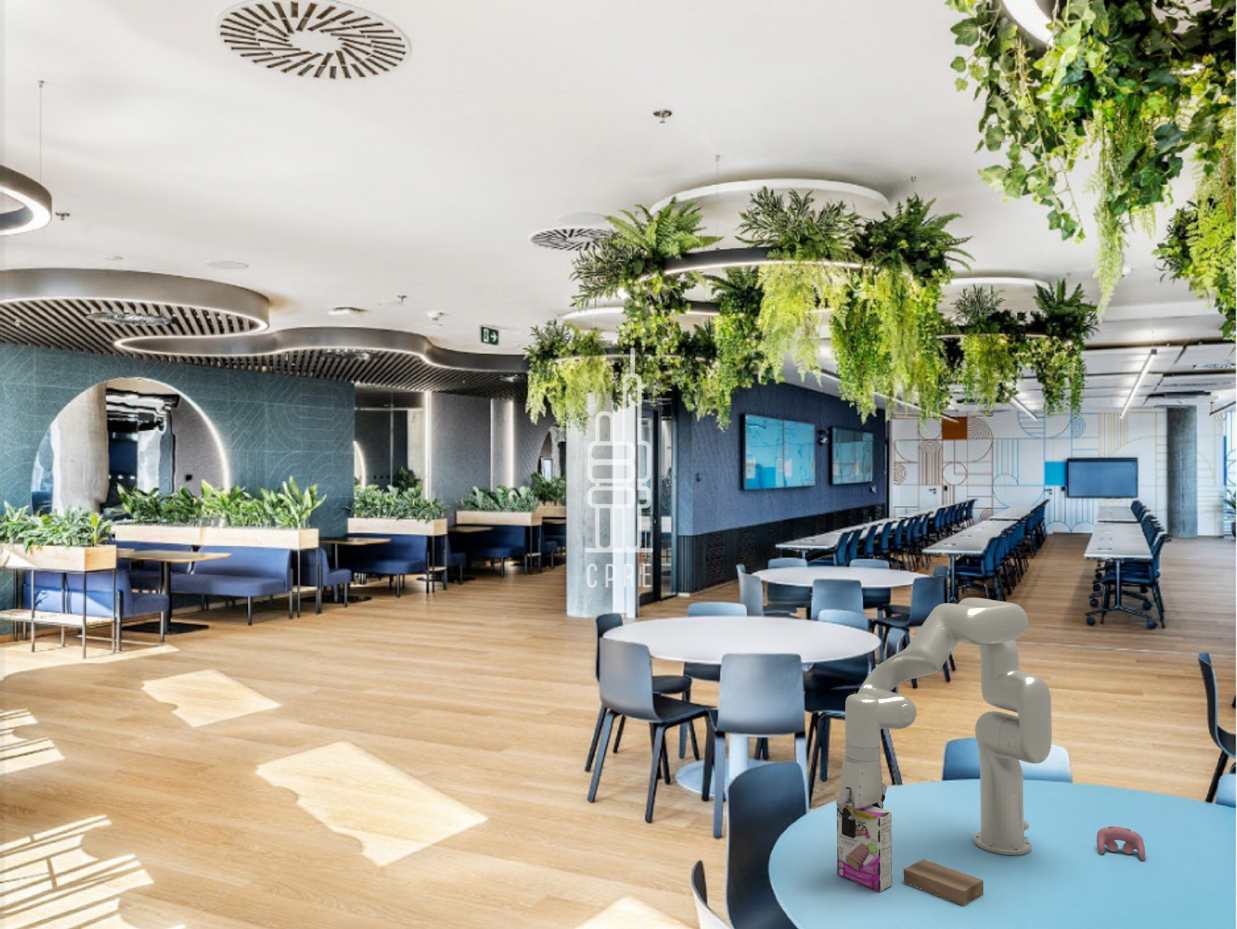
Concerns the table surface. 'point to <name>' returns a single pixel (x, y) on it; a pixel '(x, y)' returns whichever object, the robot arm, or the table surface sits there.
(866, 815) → the candy bar box
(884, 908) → the table surface
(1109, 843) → the video game controller
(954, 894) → the walnut base
